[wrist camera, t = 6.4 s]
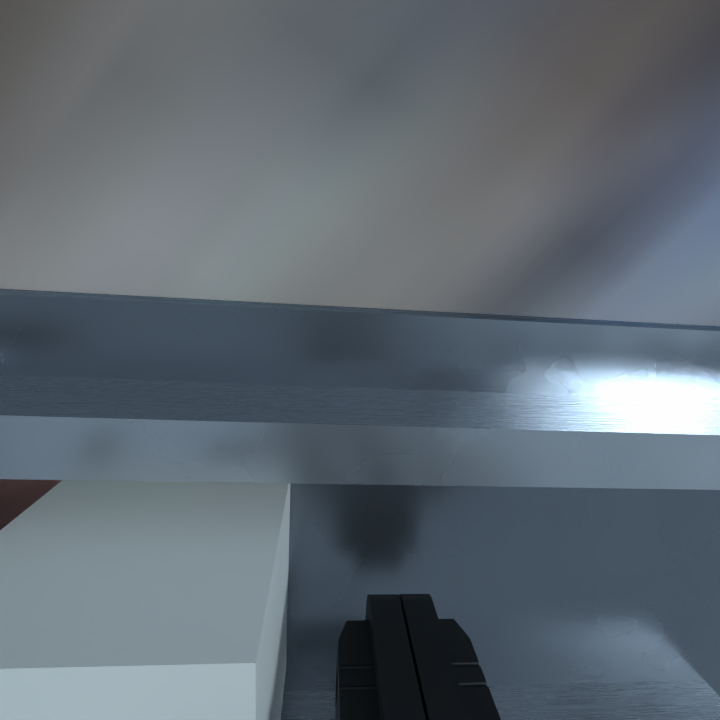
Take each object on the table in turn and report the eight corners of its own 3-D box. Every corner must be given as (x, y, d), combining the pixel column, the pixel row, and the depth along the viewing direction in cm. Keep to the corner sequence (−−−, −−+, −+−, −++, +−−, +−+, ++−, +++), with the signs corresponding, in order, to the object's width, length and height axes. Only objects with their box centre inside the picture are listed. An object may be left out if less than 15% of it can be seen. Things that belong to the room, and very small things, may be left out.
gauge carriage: (291, 449, 10) (248, 661, 5) (285, 684, 12) (249, 1044, 6) (74, 444, 10) (-248, 673, 4) (100, 689, 11) (-111, 1082, 6)
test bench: (794, 330, 12) (1487, 427, 5) (679, 712, 15) (994, 1114, 8) (-222, 276, 9) (-1793, 311, 2) (-105, 740, 13) (-651, 1339, 6)
